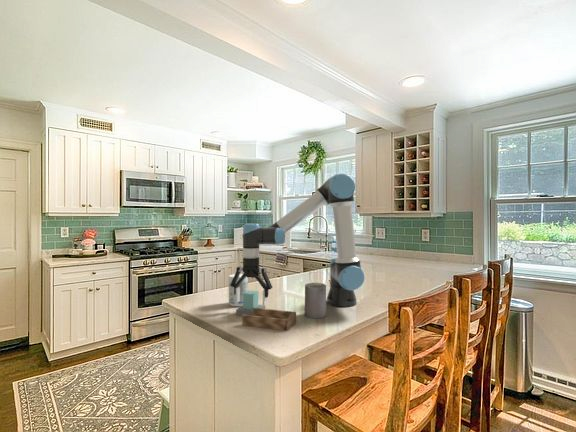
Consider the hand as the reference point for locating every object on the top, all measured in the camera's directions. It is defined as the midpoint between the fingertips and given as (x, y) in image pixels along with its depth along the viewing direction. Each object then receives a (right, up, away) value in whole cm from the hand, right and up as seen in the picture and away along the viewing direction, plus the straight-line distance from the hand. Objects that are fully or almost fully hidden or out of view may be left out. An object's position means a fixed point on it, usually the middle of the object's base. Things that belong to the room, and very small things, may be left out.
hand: (251, 303), depth 145 cm
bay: (+9, -5, -14) cm, 17 cm away
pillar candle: (+30, -5, -3) cm, 30 cm away
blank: (0, -2, 0) cm, 2 cm away
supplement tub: (-8, -5, +14) cm, 17 cm away
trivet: (0, -4, 0) cm, 4 cm away
